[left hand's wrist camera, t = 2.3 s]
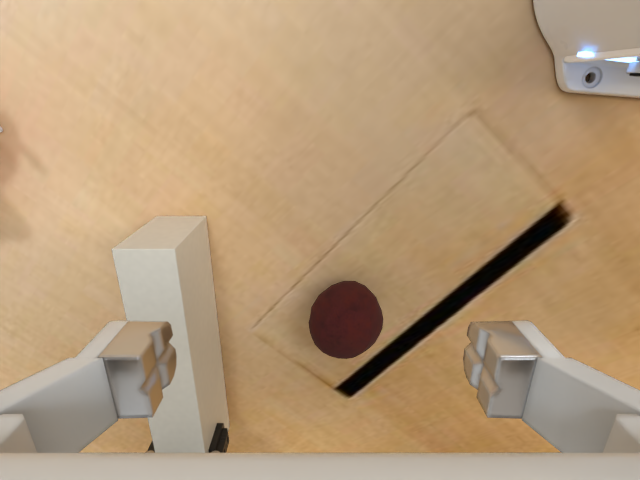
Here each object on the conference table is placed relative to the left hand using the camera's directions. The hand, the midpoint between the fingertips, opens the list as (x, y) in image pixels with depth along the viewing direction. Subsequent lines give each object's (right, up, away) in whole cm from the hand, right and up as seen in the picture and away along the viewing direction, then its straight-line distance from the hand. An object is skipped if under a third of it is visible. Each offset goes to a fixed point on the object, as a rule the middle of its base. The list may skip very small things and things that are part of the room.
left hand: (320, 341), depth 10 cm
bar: (-14, -8, +32) cm, 36 cm away
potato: (+3, -4, +31) cm, 31 cm away
